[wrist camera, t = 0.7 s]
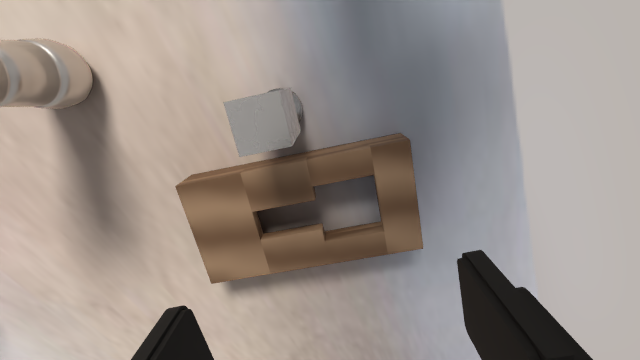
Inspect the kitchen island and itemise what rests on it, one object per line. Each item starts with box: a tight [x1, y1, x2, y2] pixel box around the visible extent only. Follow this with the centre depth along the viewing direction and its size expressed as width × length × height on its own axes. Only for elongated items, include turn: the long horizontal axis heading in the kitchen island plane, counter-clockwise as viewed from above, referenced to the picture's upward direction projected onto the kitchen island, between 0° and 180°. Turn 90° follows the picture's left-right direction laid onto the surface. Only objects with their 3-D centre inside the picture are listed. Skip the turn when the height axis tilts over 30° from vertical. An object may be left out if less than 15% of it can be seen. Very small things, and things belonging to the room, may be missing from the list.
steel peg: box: [223, 88, 303, 157], centre depth 28 cm, size 4×4×12 cm
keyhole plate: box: [175, 133, 423, 284], centre depth 34 cm, size 12×24×4 cm, turn 102°
